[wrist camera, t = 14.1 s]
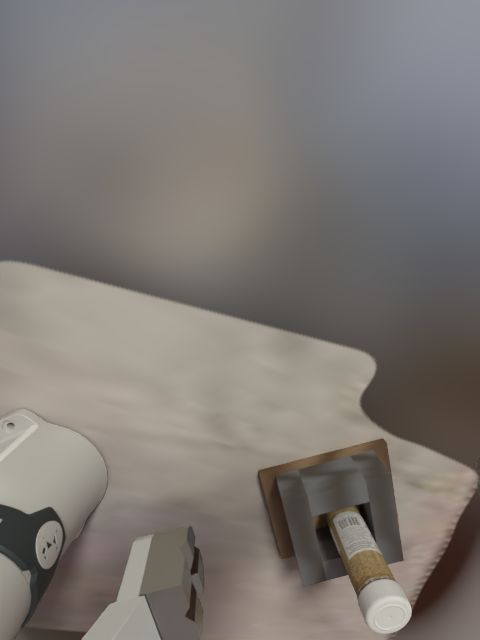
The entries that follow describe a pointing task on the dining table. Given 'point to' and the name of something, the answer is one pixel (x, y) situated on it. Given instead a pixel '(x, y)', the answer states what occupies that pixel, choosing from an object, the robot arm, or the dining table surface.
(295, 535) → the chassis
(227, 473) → the dining table surface
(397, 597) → the sprinkles bottle
